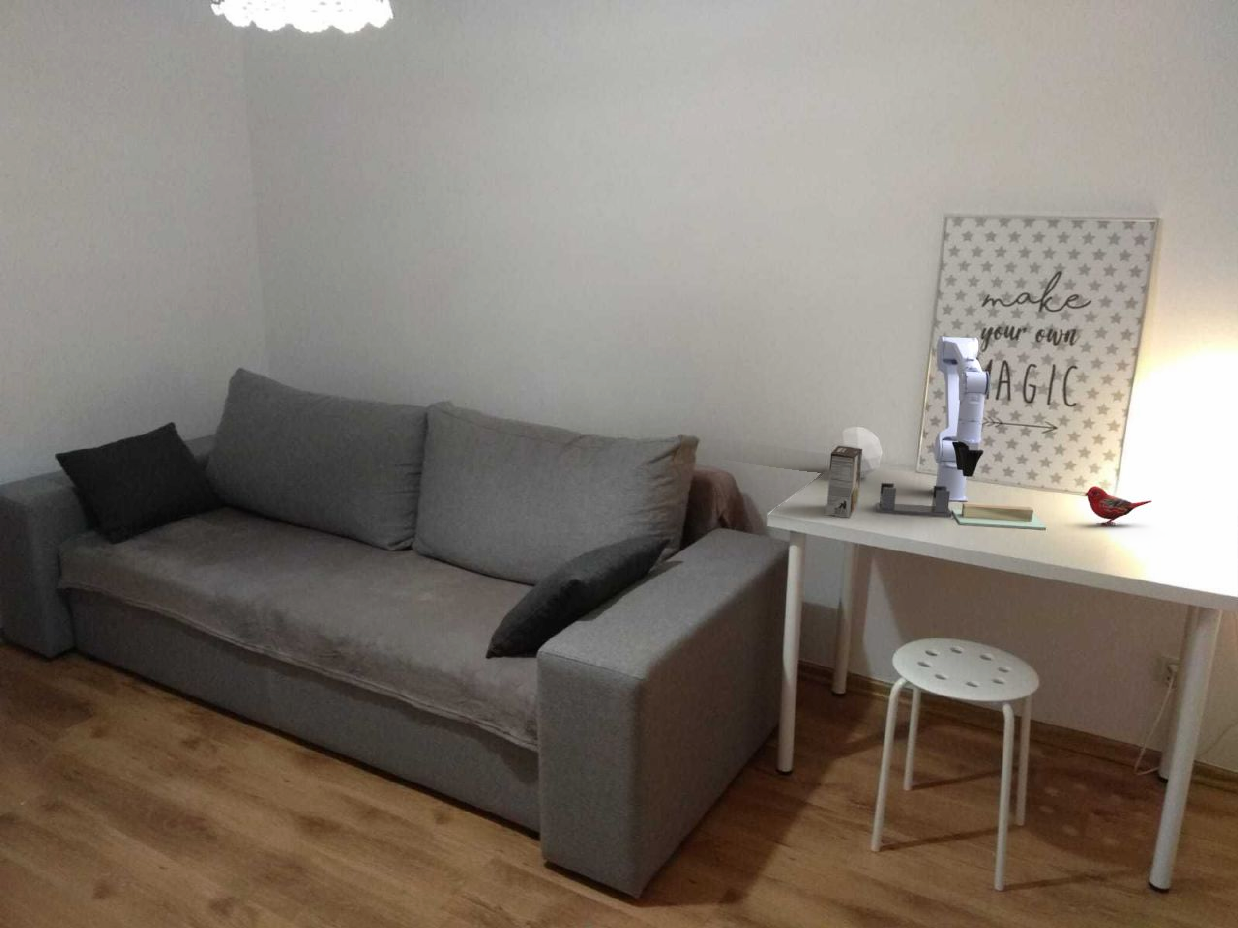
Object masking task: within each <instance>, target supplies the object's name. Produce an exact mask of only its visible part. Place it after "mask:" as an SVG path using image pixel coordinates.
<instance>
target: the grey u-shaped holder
mask: <svg viewBox="0 0 1238 928" xmlns="http://www.w3.org/2000/svg"><path fill="white" fill-rule="evenodd" d="M946 488H947V487H946V486H936V485H933V488H932V489H933V492H932V499H931V500H932V501H931V505H925V504H924V505H921V504H908V503H907V504H905V503H896V495H897V493H896V492H897V488H896V487H895V484H894V483H893V482H891V483H890V482H881V486H880V495H879V502H874V503H875V504H874V506H875V509H876V511H877V512H876V513H877V514H890V515H901V516H903V515H905V516H919V517H920V516H922V517H936V518H937V517H938V518H952V516H953V513H952V510H950V509H949V502H950V500H949V495H950V492H949V491H946Z"/></svg>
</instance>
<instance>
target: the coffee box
mask: <svg viewBox="0 0 1238 928" xmlns="http://www.w3.org/2000/svg"><path fill="white" fill-rule="evenodd" d="M829 458H830V457H829ZM861 458H862V449H858V448H853V447H846V446H837V447H836V449H835V450H834V451H833V452H832V453H831V458H830V459H829V460H830V461H829V475H828V484H827V486H828V487H827V497H826V498H827V499H826V509H825V510H826V512H825V515H826V514H830V515H829V516H831V515H835V516H834V517H838V516H841V517H840V518H844V517H847V518H846V519H851V518H852V517H853V515H854V514H855V513H856V511H857V510H858V507H859V496H860V495H859V494H860V493H859V492H860V483H861V478H860V471H861Z"/></svg>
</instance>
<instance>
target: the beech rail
mask: <svg viewBox="0 0 1238 928" xmlns="http://www.w3.org/2000/svg"><path fill="white" fill-rule="evenodd" d="M961 510H962V515H963V517H964V518H978V519H994V520H1011V521H1028V522H1032V514H1034V510H1033V508H1032V507H1031V506H1025V505H1011V504H1010V505H1008V504H991V503H990V504H989V503H977V502H976V503H974V502H962V508H961Z"/></svg>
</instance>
